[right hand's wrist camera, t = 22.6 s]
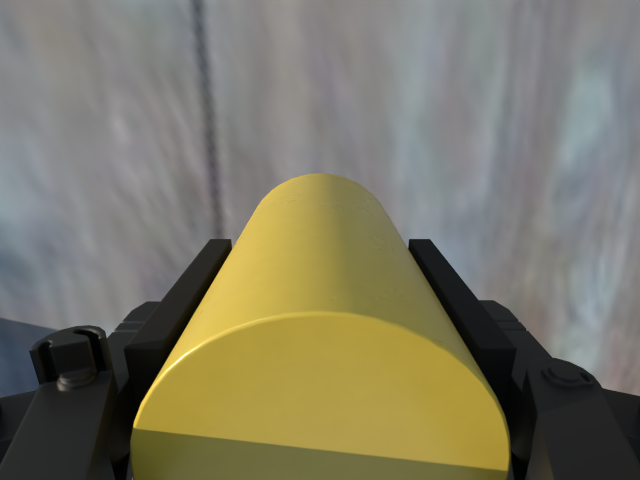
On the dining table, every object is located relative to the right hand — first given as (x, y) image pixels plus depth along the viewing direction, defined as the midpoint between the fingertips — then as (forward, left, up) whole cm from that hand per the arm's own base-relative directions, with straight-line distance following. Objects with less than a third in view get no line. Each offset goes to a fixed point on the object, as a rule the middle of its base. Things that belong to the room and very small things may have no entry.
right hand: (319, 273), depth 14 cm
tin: (0, 0, -3) cm, 3 cm away
